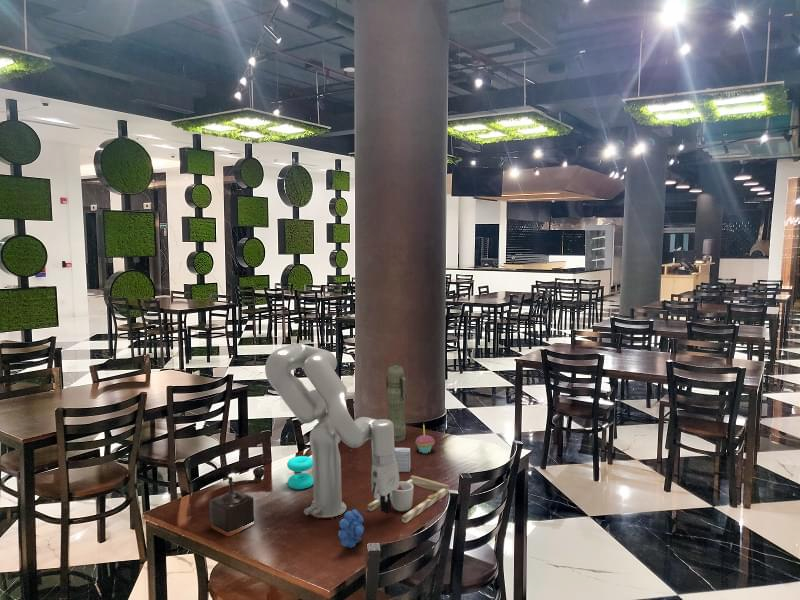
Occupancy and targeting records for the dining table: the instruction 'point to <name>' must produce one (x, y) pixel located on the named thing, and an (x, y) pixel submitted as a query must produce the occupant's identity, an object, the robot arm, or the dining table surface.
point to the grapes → (351, 528)
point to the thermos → (396, 400)
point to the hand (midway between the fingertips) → (386, 511)
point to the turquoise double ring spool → (301, 478)
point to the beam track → (428, 484)
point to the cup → (402, 496)
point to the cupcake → (425, 442)
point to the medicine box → (403, 459)
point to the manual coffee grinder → (234, 506)
